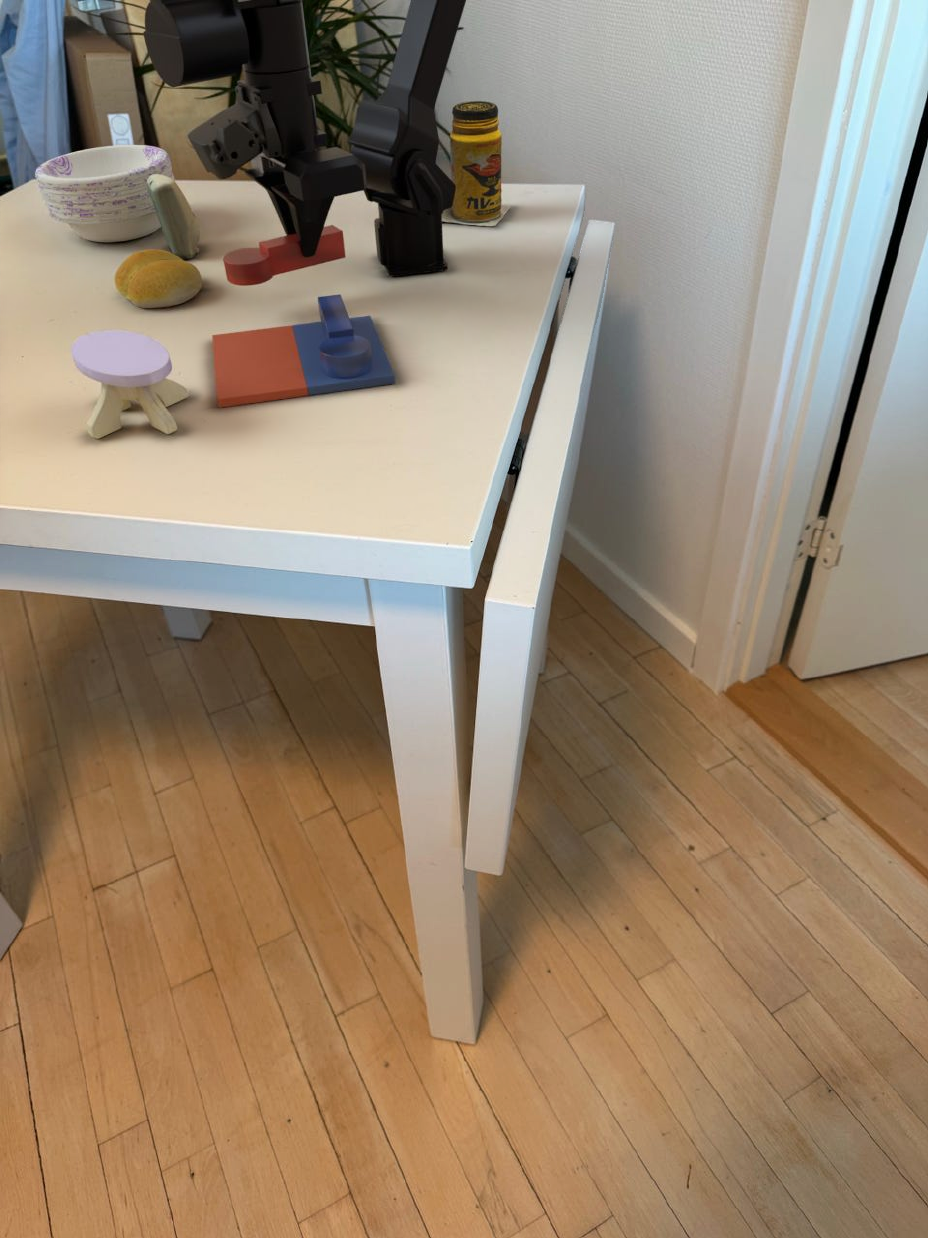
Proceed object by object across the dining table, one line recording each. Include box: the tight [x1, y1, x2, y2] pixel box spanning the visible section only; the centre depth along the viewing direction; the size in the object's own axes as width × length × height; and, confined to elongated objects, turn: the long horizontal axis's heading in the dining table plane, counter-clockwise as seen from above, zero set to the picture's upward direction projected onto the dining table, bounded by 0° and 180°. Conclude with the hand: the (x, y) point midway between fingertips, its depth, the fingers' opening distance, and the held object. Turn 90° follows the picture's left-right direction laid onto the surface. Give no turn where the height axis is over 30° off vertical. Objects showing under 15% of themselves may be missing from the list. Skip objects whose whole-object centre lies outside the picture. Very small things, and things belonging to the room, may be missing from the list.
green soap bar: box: [147, 174, 202, 261], centre depth 98 cm, size 6×5×8 cm
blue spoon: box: [317, 293, 372, 379], centre depth 78 cm, size 12×4×3 cm, turn 14°
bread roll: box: [114, 248, 203, 309], centre depth 90 cm, size 8×9×4 cm
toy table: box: [70, 329, 189, 440], centre depth 70 cm, size 10×9×6 cm
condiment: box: [442, 100, 512, 227], centre depth 104 cm, size 7×8×12 cm
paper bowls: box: [34, 144, 176, 243], centre depth 104 cm, size 15×15×8 cm
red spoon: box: [222, 224, 346, 287], centre depth 85 cm, size 12×4×3 cm, turn 124°
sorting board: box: [211, 315, 396, 409], centre depth 78 cm, size 15×13×1 cm
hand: (303, 252), depth 86 cm, fingers closed on red spoon, 2 cm apart
